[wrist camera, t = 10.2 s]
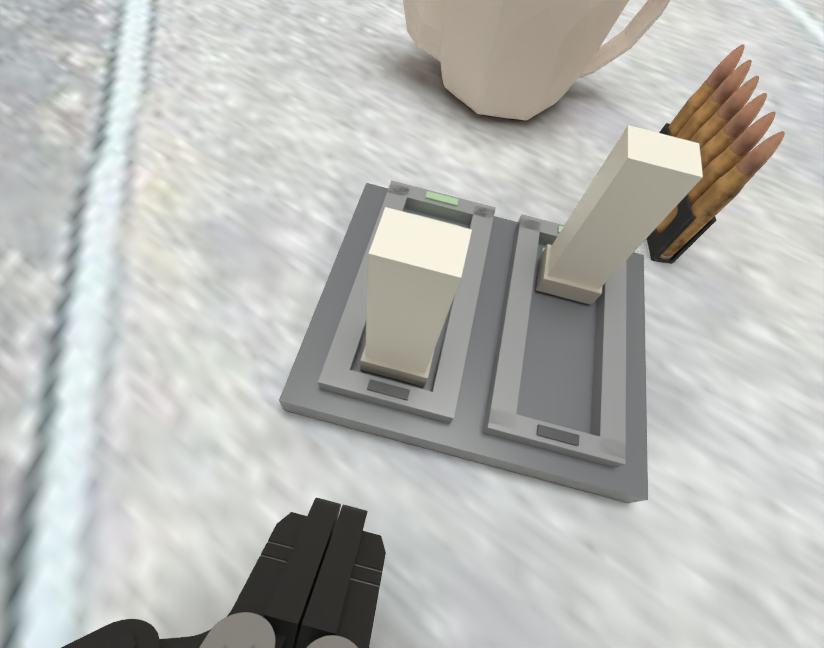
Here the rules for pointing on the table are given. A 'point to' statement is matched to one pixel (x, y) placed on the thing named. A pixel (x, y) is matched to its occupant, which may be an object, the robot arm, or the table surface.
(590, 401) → the switch board
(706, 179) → the ammunition clip
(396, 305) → the tab
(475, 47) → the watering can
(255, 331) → the table surface
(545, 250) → the tab
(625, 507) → the table surface
